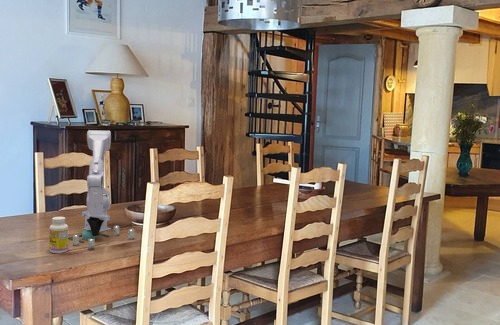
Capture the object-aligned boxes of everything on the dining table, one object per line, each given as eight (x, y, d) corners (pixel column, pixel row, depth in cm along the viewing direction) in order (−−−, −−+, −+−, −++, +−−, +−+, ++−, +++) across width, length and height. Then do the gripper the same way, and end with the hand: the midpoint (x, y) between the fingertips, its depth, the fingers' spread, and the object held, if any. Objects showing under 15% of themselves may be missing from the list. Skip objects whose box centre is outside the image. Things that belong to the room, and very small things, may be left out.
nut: (79, 238, 221) (79, 230, 221) (90, 235, 226) (90, 228, 226) (88, 240, 218) (88, 233, 218) (99, 237, 223) (99, 230, 222)
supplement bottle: (46, 250, 202) (46, 217, 200) (63, 247, 206) (63, 215, 205) (54, 254, 197) (54, 220, 196) (71, 251, 202) (71, 218, 200)
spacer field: (71, 245, 210) (71, 235, 210) (116, 234, 230) (116, 225, 229) (90, 250, 204) (90, 240, 204) (135, 238, 224) (135, 229, 223)
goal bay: (67, 239, 219) (67, 237, 219) (94, 233, 231) (94, 231, 231) (82, 243, 214) (82, 241, 214) (109, 236, 226) (109, 235, 225)
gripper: (75, 202, 219) (76, 234, 220) (100, 206, 211) (99, 240, 213) (89, 199, 225) (89, 231, 226) (113, 204, 217) (113, 237, 218)
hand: (95, 235), depth 220 cm, fingers closed
